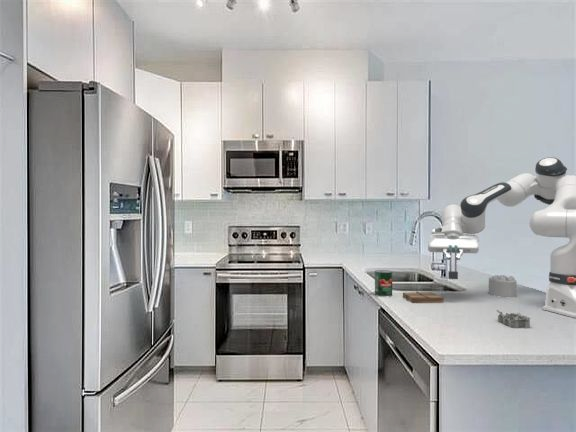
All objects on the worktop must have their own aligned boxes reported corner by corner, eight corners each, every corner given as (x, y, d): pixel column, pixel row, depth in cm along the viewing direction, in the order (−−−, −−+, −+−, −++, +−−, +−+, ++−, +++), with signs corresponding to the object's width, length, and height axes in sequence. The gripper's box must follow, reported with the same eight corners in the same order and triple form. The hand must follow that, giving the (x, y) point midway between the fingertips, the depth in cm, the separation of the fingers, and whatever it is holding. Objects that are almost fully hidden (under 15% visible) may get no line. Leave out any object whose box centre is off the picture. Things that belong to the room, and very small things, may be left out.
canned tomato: (382, 292, 208) (382, 269, 208) (396, 295, 201) (396, 271, 201) (371, 294, 203) (371, 270, 203) (384, 297, 197) (384, 272, 196)
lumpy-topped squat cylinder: (508, 292, 210) (508, 274, 209) (521, 297, 197) (521, 278, 196) (485, 292, 210) (486, 274, 210) (497, 297, 197) (498, 278, 197)
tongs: (457, 279, 184) (457, 245, 184) (448, 278, 185) (448, 245, 185) (457, 278, 186) (457, 245, 187) (448, 278, 188) (448, 245, 188)
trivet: (443, 302, 185) (443, 297, 185) (413, 303, 185) (413, 297, 184) (431, 296, 198) (431, 291, 198) (402, 297, 197) (402, 291, 197)
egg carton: (495, 321, 156) (495, 309, 156) (516, 321, 156) (516, 309, 156) (510, 328, 145) (510, 316, 145) (533, 328, 145) (533, 316, 145)
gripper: (477, 239, 193) (479, 264, 184) (428, 238, 200) (427, 262, 190) (478, 229, 189) (480, 254, 180) (428, 229, 195) (427, 253, 186)
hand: (453, 258), depth 185 cm, fingers closed on tongs, 3 cm apart
